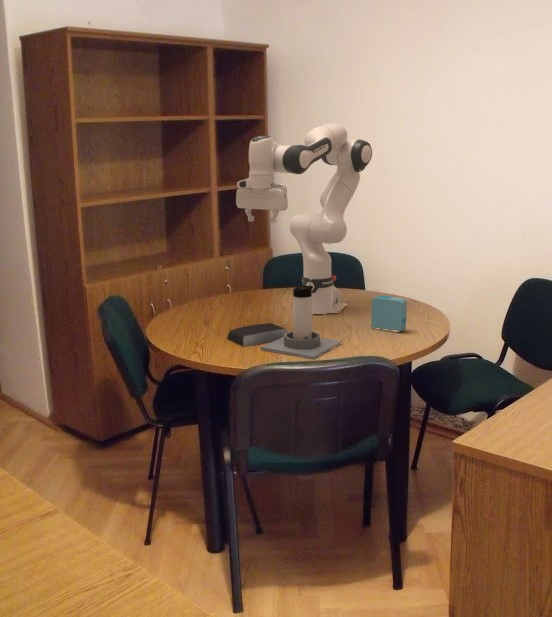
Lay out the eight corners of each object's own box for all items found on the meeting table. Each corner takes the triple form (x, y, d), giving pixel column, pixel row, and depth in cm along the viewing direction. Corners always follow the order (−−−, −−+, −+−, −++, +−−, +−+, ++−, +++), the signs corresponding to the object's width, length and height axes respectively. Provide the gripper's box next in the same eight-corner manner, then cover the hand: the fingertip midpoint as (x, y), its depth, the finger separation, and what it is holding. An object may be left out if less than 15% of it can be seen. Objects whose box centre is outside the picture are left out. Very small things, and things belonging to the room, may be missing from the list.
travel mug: (310, 347, 239) (310, 288, 234) (291, 345, 241) (290, 287, 236) (314, 342, 245) (314, 284, 240) (295, 340, 246) (295, 283, 242)
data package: (406, 330, 262) (407, 298, 259) (400, 333, 258) (402, 301, 255) (376, 326, 268) (377, 294, 265) (370, 328, 265) (371, 297, 262)
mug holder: (292, 335, 256) (292, 324, 255) (342, 343, 246) (342, 332, 245) (261, 349, 240) (260, 338, 239) (313, 359, 229) (313, 347, 228)
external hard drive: (291, 339, 253) (291, 328, 252) (244, 349, 243) (244, 337, 242) (271, 331, 264) (271, 320, 263) (225, 340, 253) (225, 328, 252)
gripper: (291, 183, 252) (291, 222, 255) (243, 181, 262) (244, 219, 266) (281, 184, 247) (281, 224, 250) (233, 182, 257) (234, 221, 261)
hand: (262, 222), depth 258 cm, fingers open, 8 cm apart
